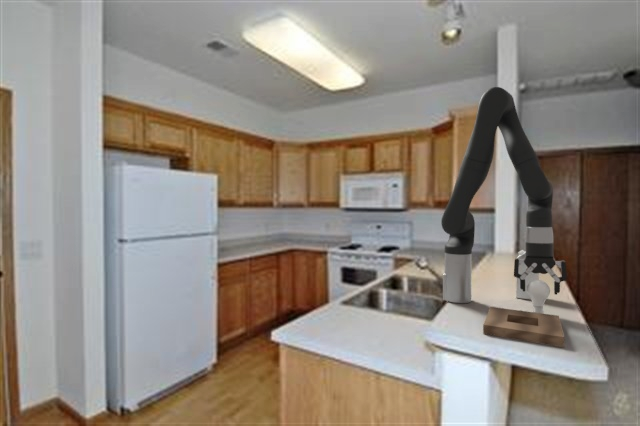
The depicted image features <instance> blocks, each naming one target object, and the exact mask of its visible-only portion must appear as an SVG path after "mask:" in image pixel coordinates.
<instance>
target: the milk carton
mask: <svg viewBox="0 0 640 426" xmlns="http://www.w3.org/2000/svg"><path fill="white" fill-rule="evenodd" d="M517 254H518V256H517V257H516V258H518V259H525V258H526V250H524V249H521V250H520V251H518V252H517ZM527 268H528V267H527V266H526V265H525V263H522V265H521V266H519V271H518V273H519V274H521V275H522V274H523V272H524V271H525V270H526V269H527ZM515 279H516V280H515V281H516V282H515V283H516V284H515V285H516V286H515V287H516V290H515V292H516V293H515V298H516V299H524V300H531V298H530V296H529V295H528V293H527V285H528V284H529V283H530V282H531V281H533V280H540V273H533V272H530V273H529V275H527V276H526V278H525V291H523V289H521V288H520V279H519V278H517V277H515ZM531 301H532V300H531Z"/></svg>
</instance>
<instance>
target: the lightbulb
mask: <svg viewBox="0 0 640 426" xmlns="http://www.w3.org/2000/svg"><path fill="white" fill-rule="evenodd" d="M527 293H528V295H529V296H530V298H531V302H532V306H533V308H532V309H533V310H532V311H533V312H534V313H542V314H544V305H545V301H546V300H547V299H548V297H549V296H550V295H551V288H550V285H549V284H548V283H547V282H545V281H543V280H541V279H539V280H533V281H531V282H530V283H529V284H528V285H527Z"/></svg>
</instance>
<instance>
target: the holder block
mask: <svg viewBox="0 0 640 426" xmlns="http://www.w3.org/2000/svg"><path fill="white" fill-rule="evenodd" d="M482 326H483V327H482V328H483V329H482V331H483V332H482V334H483V335H488V336H489V335H490V336H493V335H494V337H499V336H500V337H499V338H505V337H506V339H512V340H517V341H525V342H530V343H536V344H542V345H548V346H554V347H558V348H559V347H560V348H565V335H564V330H563V326H562V322H561V319H560V315H558V314H557V315H555V314H549V313H543V314H542V313H534V312H532V311H528V310H527V311H525V310H517V309H509V308H503V307H495V306H490V307H489V308H488V312H487V314H486V317H485V319H484V322H483V324H482Z"/></svg>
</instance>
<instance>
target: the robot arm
mask: <svg viewBox="0 0 640 426" xmlns="http://www.w3.org/2000/svg"><path fill="white" fill-rule="evenodd" d="M517 111H518V110H517V108H516V105H515V100H514V96H513V95H512V94H511V93H510V92H508V91H507V90H506V89H504V88H503V87H500V86H494V87H490V88H488V89H486V90H485V92H484V93H483V94H482V95H481V98H480V99H479V103H478V107H477V113H476V117H475V121H474V126H473V128H472V132H471V135H470V137H469V141H468V143H467V147H466V150H465V152H464V155H463V158H462V160H461V164H460V167H459V170H458V175H457V178H456V181H455V183H454V187H453V191H452V193H451V196H450V198H449V200H448V203H447V204H446V207H445V210H444V211H443V213H442V217H441V221H440V222H441V228H442V230H443V231H444V232H445V233H446V234H447V235H449V236H448V241H447V242H446V244H445V245H444V269H443V270H444V273H443V274H442V301H446V302H450V303H455V304H467V303H471V302H472V273H473V272H472V270H473V269H472V267H473V266H472V265H473V264H472V262H473V261H472V260H473V259H472V256H473V255H472V254H473V251H472V250H473V247H474V245H475V230H476V228H475V227H476V225H475V224H476V222H475V217H474V215H473V213H471V212H470V211H469V210H470V207H471V203H472V201H473V199H474V197H475V195H476V194H477V193H478V191H479V190H480V188H481V187H482V186H483V185H484V182H485V181H486V179H487V176H488V174H489V172H490V169H491V166H492V162H493V159H494V152H495V139H496V138H495V137H496V133H497V129H499V131H500V133H501V135H502V137H503V140H504V144H505V148H506V151H507V154H508V157H509V159H510V160H511V163H512V165H513V168H514V170H515V171H516V173H517V175H518V177H519V181H520V184H521V186H522V189H523V191H524V193H525V195H526V197H527V205H528V206H527V211H526V216H525V217H526V219H525V222H526V223H525V224H526V225H525V226H526V227H525V228H526V229H525V237H524V238H525V239H524V240H525V251H526V258H525V259H518V258H517V257H516V258H515V259H514V264H513V265H514V267H513V277H514V278H516V277H517V278H519V279H520V288H521V289H523V291H525V278H526V276H527V275H529V273H530V272H533V273H539V274H542V275H546V274H549V275H550V277H551V278H552V279H553V280H554V281H553V291H554V292H553V293H554V295H558V294H560V291H561V282H567V281H568V275H567V274H568V273H567V263H566V261H565V260H555V258H554V256H555V255H554V240H555V239H554V230H553V213H552V206H553V197H554V189H553V185H552V183H551V182H550V181H549V180H548V178H547V177H546V175H545V172H544V171H543V169H542V168H541V163H540V160H539V157H538V155H537V154H536V152H535V149H534V147H533V145H532V144H531V142H530V140H529V138H528V136H527V135H526V132H525V131H524V129H523V126H522V123H521V121H520V118H519V115H518V112H517ZM522 263H525V265H526V266H527V267H528V268H527V269H526V270H525V271H524V272H523V274H522V275H521V274H519V273H518V271H519V266H521V265H522ZM556 265H557V267H558V268H559V269H560V270H561V276H558V275H557V273H555V272H554V271H553V268H554V267H555V266H556Z"/></svg>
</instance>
